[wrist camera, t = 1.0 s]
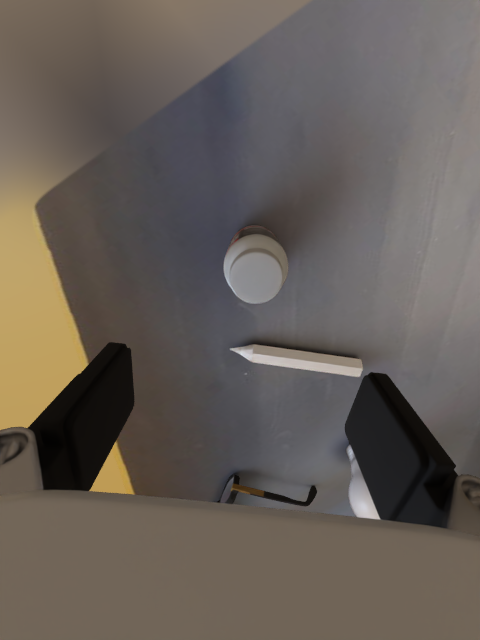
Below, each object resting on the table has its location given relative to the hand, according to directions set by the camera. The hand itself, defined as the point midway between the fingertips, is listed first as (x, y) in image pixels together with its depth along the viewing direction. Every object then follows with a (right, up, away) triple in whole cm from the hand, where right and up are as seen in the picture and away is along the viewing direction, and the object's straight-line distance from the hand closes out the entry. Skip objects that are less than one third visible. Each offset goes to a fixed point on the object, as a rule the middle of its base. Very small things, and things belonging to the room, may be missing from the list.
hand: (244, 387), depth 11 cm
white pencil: (+6, -1, +23) cm, 24 cm away
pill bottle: (+1, +10, +18) cm, 20 cm away
